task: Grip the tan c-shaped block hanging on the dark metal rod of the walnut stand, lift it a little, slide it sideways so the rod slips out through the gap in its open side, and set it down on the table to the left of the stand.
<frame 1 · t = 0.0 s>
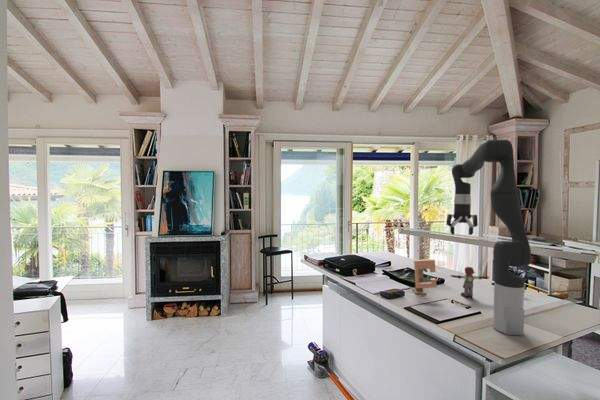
hand: (461, 234, 159), 29 cm above the table, tool pointing down, fingers open, 8 cm apart
toy: (467, 297, 151), on the table
tan c-shaped block: (426, 287, 148), point 6 cm above the table, tilted 5°, touching stand
cleaver: (509, 292, 158), on the table
stand: (418, 292, 157), on the table
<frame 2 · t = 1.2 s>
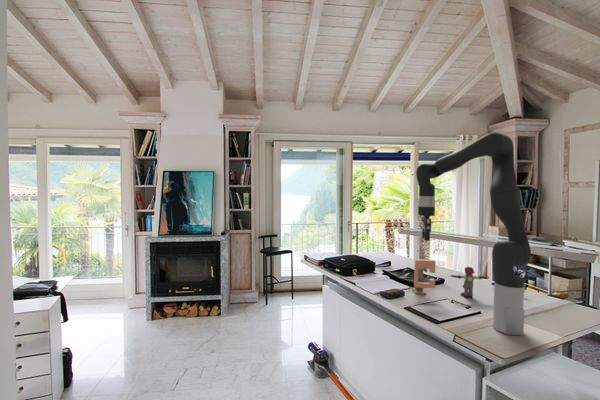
hand: (425, 239, 149), 28 cm above the table, tool pointing down, fingers open, 8 cm apart
tan c-shaped block: (424, 287, 148), point 6 cm above the table, touching stand
everything else where it was.
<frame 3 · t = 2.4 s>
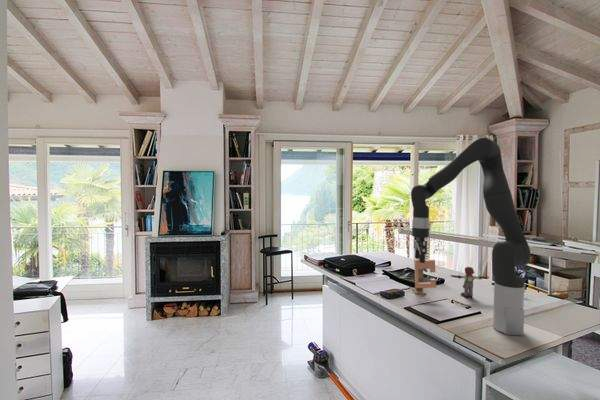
hand: (419, 260, 148), 18 cm above the table, tool pointing down, fingers open, 8 cm apart
nothing on the table moved.
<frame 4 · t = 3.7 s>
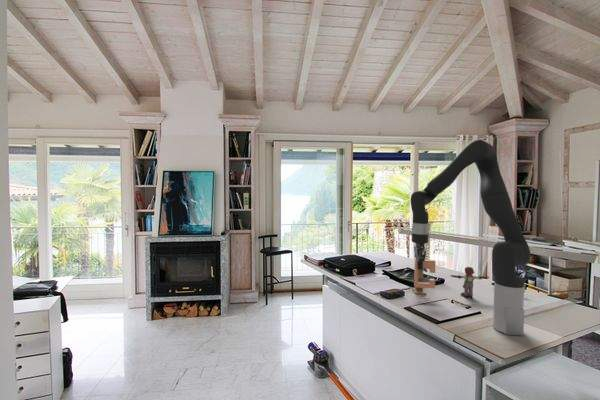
hand: (419, 268, 148), 14 cm above the table, tool pointing down, fingers closed on tan c-shaped block, 2 cm apart
tan c-shaped block: (424, 287, 148), point 6 cm above the table, touching gripper, stand
everything else where it was.
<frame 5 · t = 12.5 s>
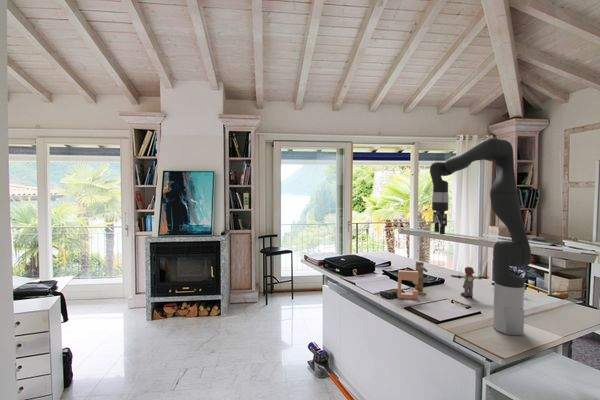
hand: (439, 233, 158), 30 cm above the table, tool pointing down, fingers open, 8 cm apart
tan c-shaped block: (407, 297, 149), on the table
everything else where it was.
at the end: tan c-shaped block inside the target area (1.9 cm from its centre), on the table; tan c-shaped block touching table; the gripper is holding nothing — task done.
